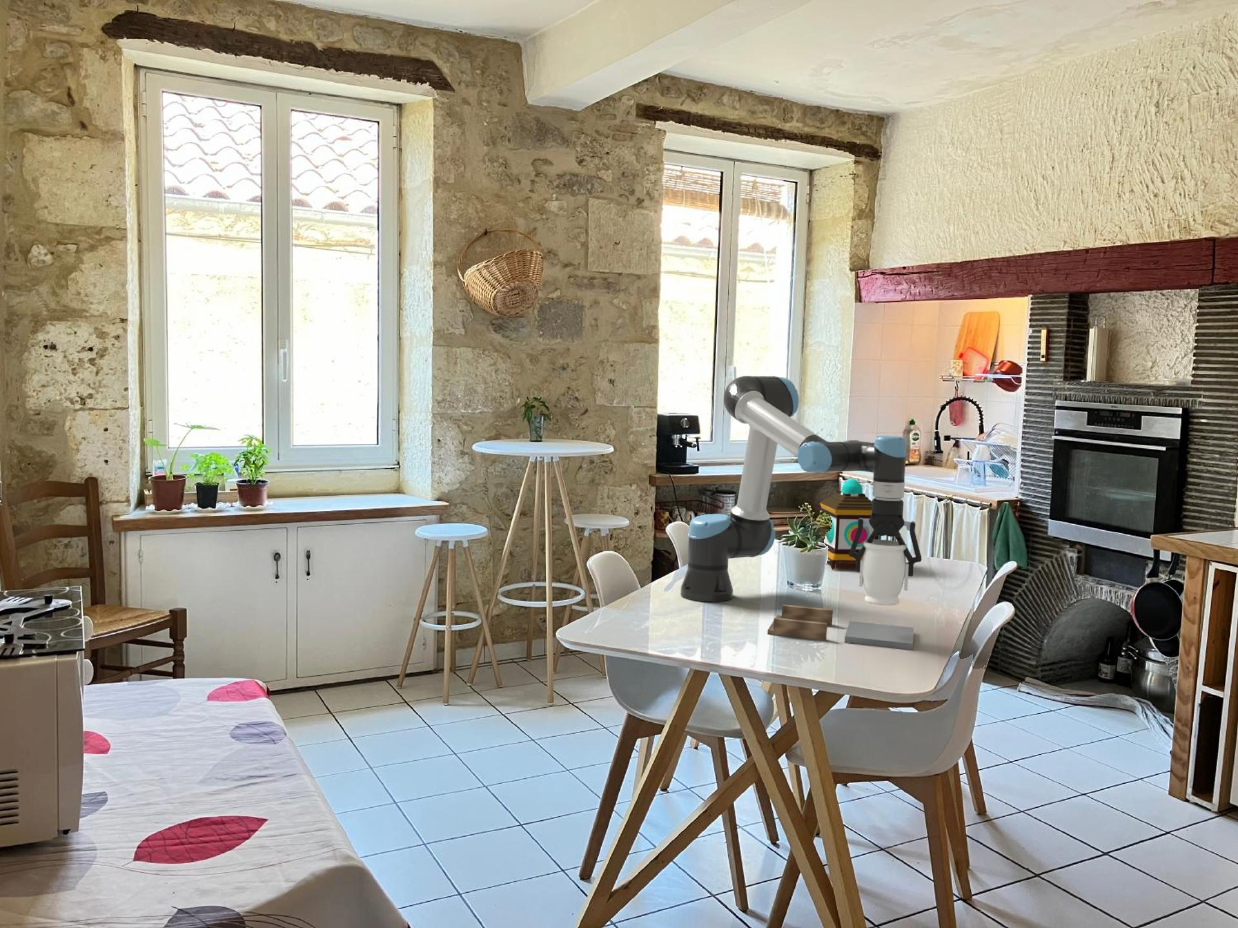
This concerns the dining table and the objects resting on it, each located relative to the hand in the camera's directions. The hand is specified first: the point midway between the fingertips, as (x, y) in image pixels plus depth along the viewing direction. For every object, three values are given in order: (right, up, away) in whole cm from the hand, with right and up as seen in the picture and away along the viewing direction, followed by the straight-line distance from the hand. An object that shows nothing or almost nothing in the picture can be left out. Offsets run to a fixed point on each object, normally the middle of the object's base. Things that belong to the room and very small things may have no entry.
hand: (883, 587), depth 245 cm
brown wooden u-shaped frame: (-19, -12, +7) cm, 23 cm away
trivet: (0, -13, +1) cm, 13 cm away
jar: (0, -4, 0) cm, 4 cm away
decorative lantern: (+13, -4, +93) cm, 94 cm away
